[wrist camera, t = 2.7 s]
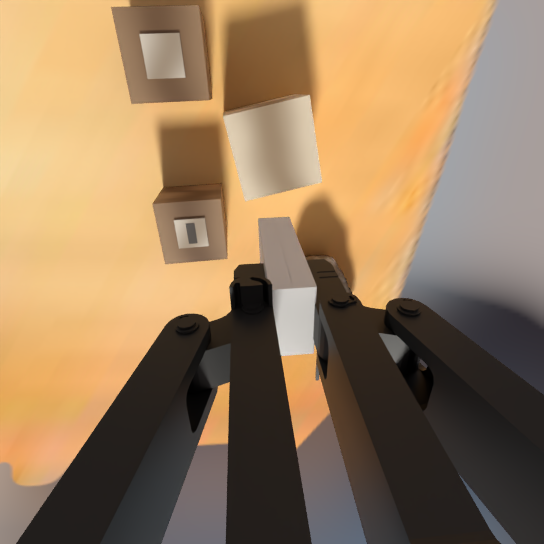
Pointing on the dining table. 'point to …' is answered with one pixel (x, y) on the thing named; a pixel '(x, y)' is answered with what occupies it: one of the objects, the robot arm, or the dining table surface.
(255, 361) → the robot arm
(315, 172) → the plain block
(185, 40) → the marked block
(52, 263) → the dining table surface
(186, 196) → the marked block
